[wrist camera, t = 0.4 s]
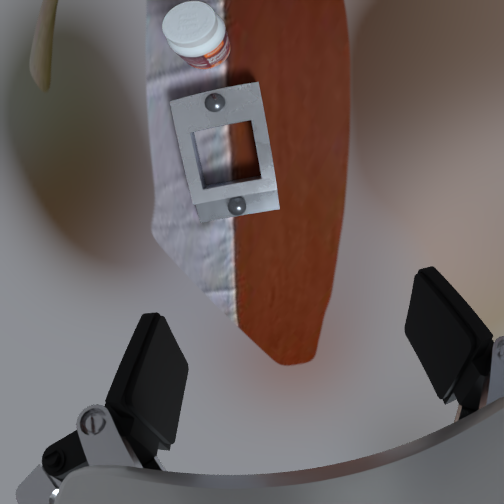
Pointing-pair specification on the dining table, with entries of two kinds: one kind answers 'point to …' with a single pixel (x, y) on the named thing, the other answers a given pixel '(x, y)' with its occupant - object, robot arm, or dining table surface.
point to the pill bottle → (197, 34)
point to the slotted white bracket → (218, 114)
